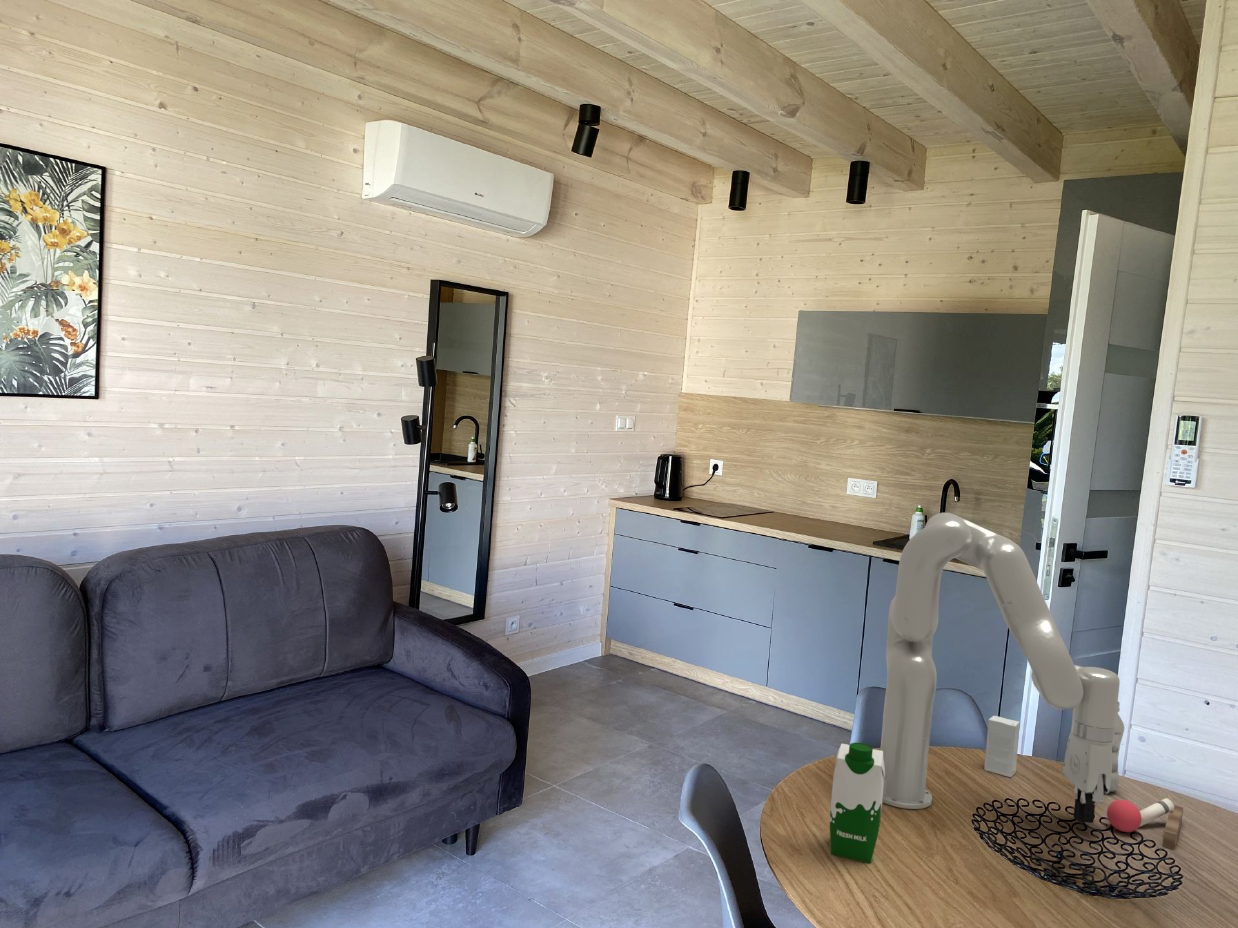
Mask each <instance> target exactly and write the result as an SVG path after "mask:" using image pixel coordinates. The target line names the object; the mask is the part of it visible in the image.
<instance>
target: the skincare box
mask: <svg viewBox="0 0 1238 928" xmlns="http://www.w3.org/2000/svg"><path fill="white" fill-rule="evenodd" d="M1020 725H1021V722H1020V721H1018V720H1013V719H1008V718H1005V717H1002V716H997V715H993V716H991V717H990V718H989V719H988V720H987V733H986V734H987V735H986V742H985V743H986V745H985V753H984V754H985V755H984V756H985V757H984V766H983V767H984V768H983V770H984V771H986V772H990V773H994V774H998V775H1001V776H1004V777H1008V778H1012V777H1013V776H1014V775H1015V774H1016V771H1017V762H1018V749H1019V739H1020Z"/></svg>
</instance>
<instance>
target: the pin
mask: <svg viewBox="0 0 1238 928" xmlns="http://www.w3.org/2000/svg"><path fill="white" fill-rule="evenodd" d="M1174 805H1175V804H1174V803H1173V802H1172V801H1171V800H1170V799H1169V798H1166V797H1165V798H1163V799H1161V800H1158V801H1157V802H1155V803H1153V804H1151V805H1149V806H1148V807H1145V808H1143V809H1141V810H1139V811H1140V813H1141V818H1142V820H1141V824H1140V826H1139V827H1138V828H1140V827H1143V826H1144V825H1146V824H1149V823H1150V822H1153V821H1154V820H1156V819H1159V818H1160V817H1161V816H1164V815H1167V814H1168V813H1170V811H1172V810H1174Z"/></svg>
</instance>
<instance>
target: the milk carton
mask: <svg viewBox="0 0 1238 928" xmlns="http://www.w3.org/2000/svg"><path fill="white" fill-rule="evenodd" d="M884 777H885V767H884V759H883V751H880V750H879V749H875V748H874V749H873V747H872V746H871V745H869V744H866V743H863V742H851V743H850V744H847V743H841V744H840V747H839V749H838V751H837V754H836V758H835V763H834V772H833V778H832V790H831V799H830V800H831V801H830V802H831V803H830V811H829V836H830V837H829V840H830V842H829V843H830V854H831V855H832V856H836V857H841V858H846V859H850V860H855V861H859V862H863V863H868V864H872V860H873V856H874V852H875V848H876V844H877V841H878V836H879V832H880V825H881V819H882V806H883V802H882V798H883V786H884Z"/></svg>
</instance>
